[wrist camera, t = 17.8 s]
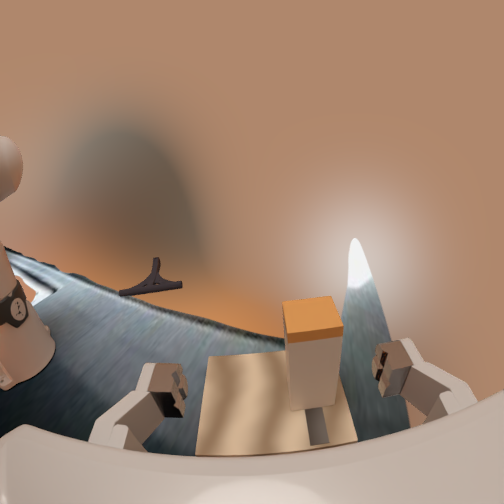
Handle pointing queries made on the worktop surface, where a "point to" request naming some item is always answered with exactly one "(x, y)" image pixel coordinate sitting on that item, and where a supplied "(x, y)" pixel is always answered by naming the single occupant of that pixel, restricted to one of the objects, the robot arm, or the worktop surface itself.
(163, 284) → the bracket
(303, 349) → the orange-capped beige carton
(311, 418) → the subfloor panel
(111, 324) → the worktop surface
